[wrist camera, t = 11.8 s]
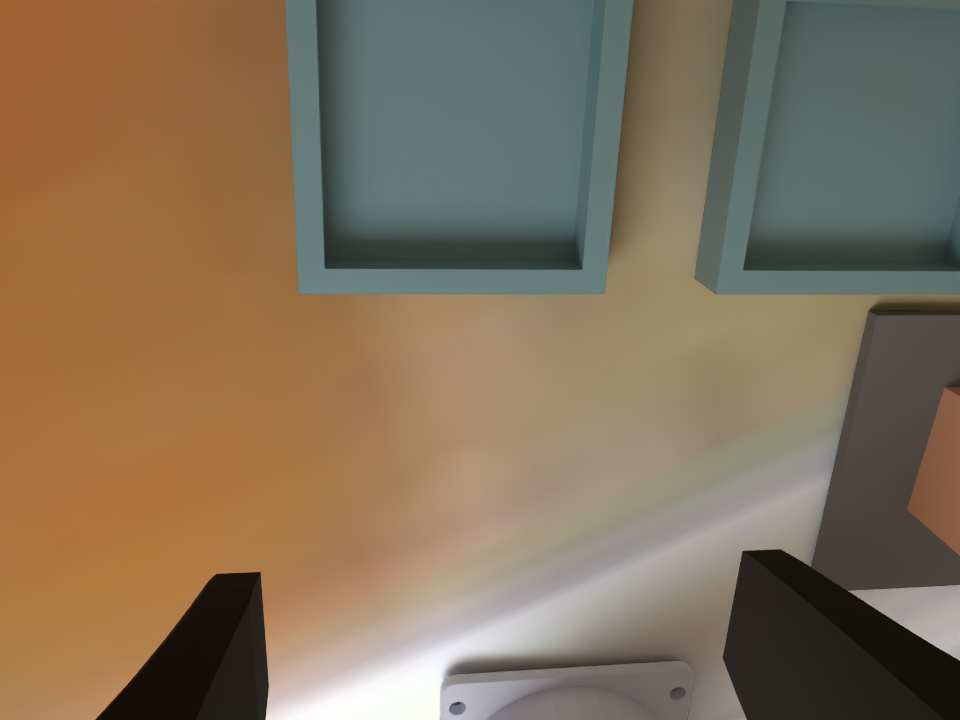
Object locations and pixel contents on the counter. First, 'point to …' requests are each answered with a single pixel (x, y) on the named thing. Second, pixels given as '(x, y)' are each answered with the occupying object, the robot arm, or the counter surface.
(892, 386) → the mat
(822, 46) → the dish
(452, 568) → the counter surface
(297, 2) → the dish
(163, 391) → the counter surface
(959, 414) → the brown rectangular block
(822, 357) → the counter surface
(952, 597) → the counter surface
